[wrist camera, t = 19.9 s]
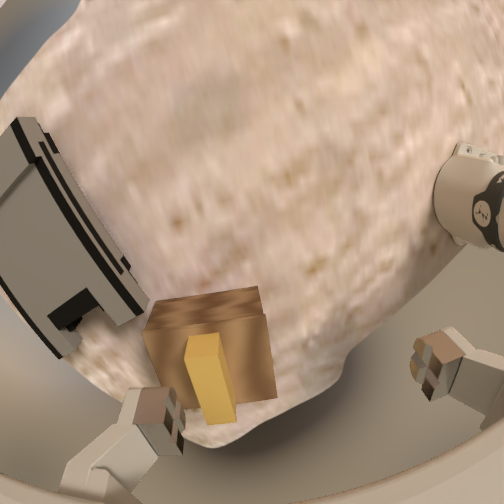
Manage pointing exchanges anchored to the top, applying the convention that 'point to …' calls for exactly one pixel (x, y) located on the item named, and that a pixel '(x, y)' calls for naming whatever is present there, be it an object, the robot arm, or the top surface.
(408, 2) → the top surface
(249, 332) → the box lid
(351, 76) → the top surface
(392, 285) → the top surface
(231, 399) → the yellow block
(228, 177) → the top surface
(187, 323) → the wooden box
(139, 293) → the game console
